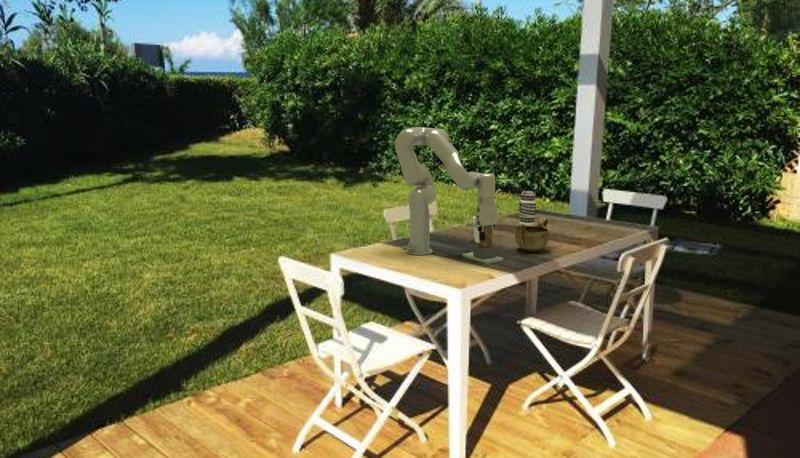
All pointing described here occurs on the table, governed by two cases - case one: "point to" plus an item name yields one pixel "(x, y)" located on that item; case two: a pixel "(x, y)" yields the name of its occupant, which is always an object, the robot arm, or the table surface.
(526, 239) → the brown round bowl
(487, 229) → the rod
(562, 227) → the table surface
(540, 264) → the table surface
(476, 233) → the foam cup
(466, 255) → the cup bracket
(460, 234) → the table surface
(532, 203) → the decorative candle
